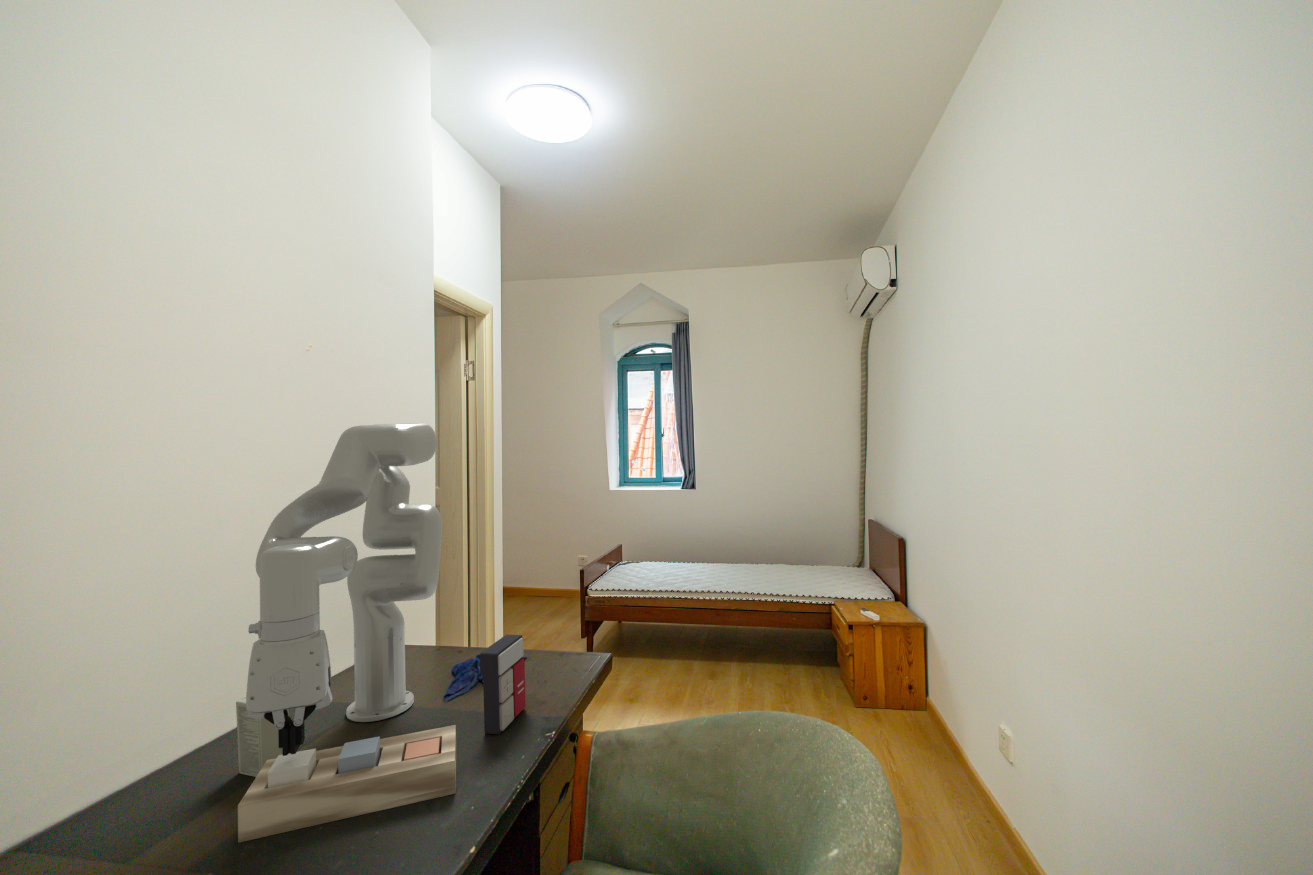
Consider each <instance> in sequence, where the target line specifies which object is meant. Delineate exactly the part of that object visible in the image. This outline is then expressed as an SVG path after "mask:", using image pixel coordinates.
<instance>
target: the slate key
mask: <svg viewBox="0 0 1313 875" xmlns="http://www.w3.org/2000/svg"><path fill="white" fill-rule="evenodd" d="M380 739H381V736H374V737H370V738H364V739H359V740H353V741H348V742H344V744H343V745H342V746H343V749H342V751H341V754H340V756H339V758H338V774H341V773H346V772H351V771H356V770H361V769H366V768H371V767H375V766H377V765H378V761H379V758H380Z"/></svg>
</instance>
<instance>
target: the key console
mask: <svg viewBox="0 0 1313 875" xmlns="http://www.w3.org/2000/svg"><path fill="white" fill-rule="evenodd" d="M456 729H457V725H456V724H452V725H448V726H442V727H438V728H437V727H436V728H432V729H426V730H422V731H415V732H411V733H406V734H400V735H394V736H390V737H384V738H383V737H382V738H380V758H379V761H378V765H377V766H375V767H371V768H366V769H361V770H356V771H351V772H346V773H341V774H338V758H339V756H340V754H341V751H342V749H343V746H344V745H339V746H335V747H330V748H323V749H320V750H316V768H315V770H314V773H313V775H312V777H311V779H310V780H306V781H301V782H296V783H291V784H286V785H281V786H276V787H271V788H268V771H269V770H270V768H271V767H272V765H273V763H274V762H275V760H276V759H270V760H267V761H266V763H265V764H264V766H263V767H262V769H261V770H260V772H259V773H258V775H257V777H254V778H255V779H254V780H253V782H252V783H251V785H250V786H249V788H248V789H247V791H245V792H246V793H245V794H244V795H243V796H242V798H241V799H240V801H239V803H238V805H237V837H238V838H237V840H238V841H237V842H238V843H244V842H247V841H252V840H256V839H260V838H264V837H269V836H273V835H274V836H275V835H278V834H282V833H286V832H291V831H295V830H300V829H304V828H309V827H314V826H319V825H322V824H326V823H332V822H336V821H339V820H344V819H348V818H353V817H357V816H361V815H367V814H370V813H375V812H380V811H383V810H388V809H392V808H398V807H401V806H407V805H411V804H415V803H419V802H420V803H421V802H424V801H427V800H432V799H437V798H441V797H446V796H450V795H454V794H457V730H456ZM439 737H440V754H435V755H430V756H425V757H420V758H415V759H410V760H405V761H404V757H405V752H406V747H407V744H408V743H413V742H418V741H424V740H429V739H434V738H439ZM238 843H237V844H238Z"/></svg>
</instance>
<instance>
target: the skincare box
mask: <svg viewBox="0 0 1313 875" xmlns="http://www.w3.org/2000/svg"><path fill="white" fill-rule="evenodd" d="M235 709H236V711H235V712H236V729H237V730H236V731H237V732H236V735H237V751H238V752H237V753H238V754H237V755H238V773H239V774H241V775H246V776H251V777H254V778H256V777H257V775H258V773H259V772H260V770H261V769H262V767H263V766H264V764H265V763H266V761H267V760H270V759H276V758H277V757H278V755H282V748H279V738H278V729H276V728H275V725H274V724H272V723H271V722H269V721H268V720H267V719H265V718H249V717H248V712H249V711H248V710H247V706H246V696H245V697H243V698H241V699H238V700H237V701H236V702H235Z"/></svg>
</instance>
